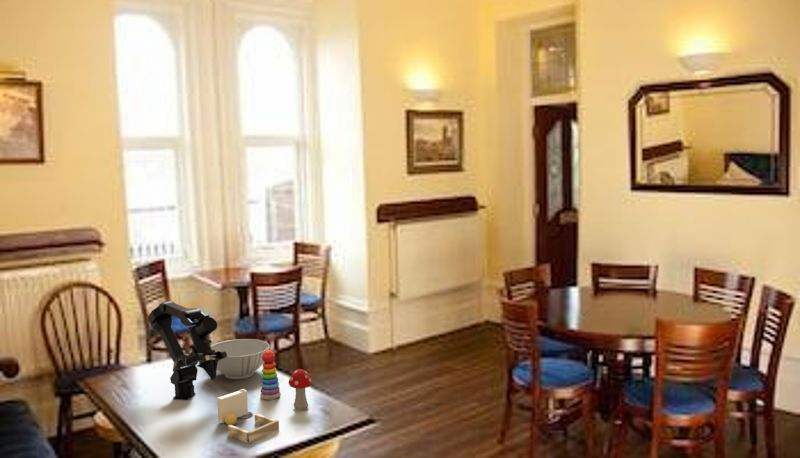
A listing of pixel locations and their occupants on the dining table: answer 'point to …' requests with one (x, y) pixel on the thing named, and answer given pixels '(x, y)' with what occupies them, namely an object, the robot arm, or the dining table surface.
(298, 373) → the decorative mushroom
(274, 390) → the stacking toy
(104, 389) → the dining table surface
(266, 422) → the tray
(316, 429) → the dining table surface
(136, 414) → the dining table surface
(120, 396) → the dining table surface
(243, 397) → the lever
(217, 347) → the decorative bowl
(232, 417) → the ball
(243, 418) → the pivot plate
